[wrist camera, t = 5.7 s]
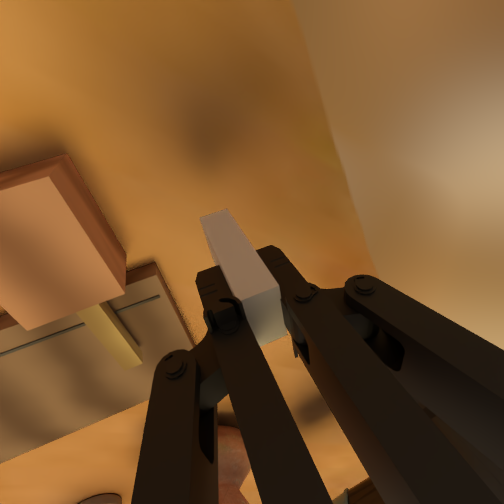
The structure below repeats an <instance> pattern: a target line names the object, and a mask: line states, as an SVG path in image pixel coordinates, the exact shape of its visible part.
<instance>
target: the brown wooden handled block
mask: <svg viewBox="0 0 504 504" xmlns="http://www.w3.org/2000/svg"><path fill="white" fill-rule="evenodd" d="M125 283H126V253H125V252H124V250H123V248H122V246H121V245H120V243H119V241H118V240H117V238H116V236H115V234H114V233H113V231H112V229H111V228H110V226H109V224H108V222H107V221H106V219H105V217H104V216H103V214H102V212H101V210H100V209H99V207H98V205H97V204H96V202H95V200H94V198H93V197H92V195H91V193H90V192H89V190H88V188H87V186H86V185H85V183H84V181H83V180H82V178H81V176H80V174H79V173H78V171H77V169H76V168H75V166H74V164H73V162H72V161H71V159H70V157H69V156H68V154H67V153H66V154H63V155H59V156H56V157H52V158H49V159H45V160H42V161H39V162H35V163H32V164H28V165H25V166H21V167H18V168H14V169H11V170H8V171H4V172H1V173H0V305H1V306H2V307H3V308H4V309H5V310H6V311H7V312H8V313H9V314H10V315H11V316H12V317H13V318H14V319H15V320H16V321H17V322H18V323H19V324H20V325H22V326H23V327H24V328H25V329H26V330H27V331H28V330H31V329H34V328H36V327H39V326H41V325H44V324H47V323H49V322H52V321H55V320H57V319H60V318H63V317H65V316H68V315H70V314H73V313H77V315H78V316H79V317H80V318H81V319H82V321H83V322H84V323H85V324H86V325H87V327H88V328H89V329H90V330H91V331H92V332H93V334H94V335H95V336H96V337H97V338H98V340H99V341H100V342H101V343H102V344H103V346H104V347H105V348H106V349H107V350H108V352H109V353H110V354H111V355H112V356H113V358H114V359H115V360H116V361H117V362H118V363H119V365H120V366H121V367H122V368H123V369H124V371H126V370H128V369H130V368H133V367H135V366H138V365H140V364H142V363H143V355H142V351H141V349H140V348H139V347H138V345H137V344H136V342H135V341H134V340H133V338H132V337H131V335H130V334H129V333H128V331H127V330H126V329H125V327H124V326H123V324H122V323H121V322H120V320H119V319H118V317H117V316H116V315H115V313H114V312H113V311H112V309H111V308H110V306H109V305H108V304H107V302H106V301H107V300H110V299H113V298H115V297H118V296H120V295H123V294H125Z"/></svg>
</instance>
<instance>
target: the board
mask: <svg viewBox="0 0 504 504" xmlns="http://www.w3.org/2000/svg"><path fill="white" fill-rule="evenodd" d="M106 302H107V304H108V305H109V306H110V308H111V309H112V311H113V312H114V313H115V315H116V316H117V317H118V319H119V320H120V322H121V323H122V324H123V326H124V327H125V329H126V330H127V331H128V333H129V334H130V335H131V337H132V338H133V340H134V341H135V342H136V344H137V345H138V347H139V348H140V349H141V351H142V355H143V363H142V364H140V365H138V366H135V367H133V368H130V369H128V370H126V371H124V369H123V368H122V367H121V366H120V365H119V363H118V362H117V361H116V360H115V359H114V358H113V356H112V355H111V354H110V353H109V352H108V350H107V349H106V348H105V347H104V346H103V344H102V343H101V342H100V341H99V340H98V338H97V337H96V336H95V335H94V334H93V332H92V331H91V330H90V329H89V328H88V327H87V325H86V324H85V323H84V322H83V321H82V319H81V318H80V317H79V316H78V315H77V313H73V314H70V315H68V316H65V317H63V318H60V319H57V320H55V321H52V322H49V323H47V324H44V325H41V326H39V327H36V328H34V329H31V330H28V331H27V330H26V329H25V328H24V327H23V326H22V325H20V324H19V323H18V322H17V321H16V320H15V319H14V318H13V317H12V316H11V315H10V314H9V313H8V314H5V315H2V316H0V464H1V463H3V462H5V461H8V460H10V459H12V458H15V457H17V456H19V455H22V454H24V453H26V452H29V451H31V450H33V449H36V448H38V447H40V446H42V445H45V444H47V443H49V442H52V441H54V440H56V439H59V438H61V437H63V436H66V435H68V434H70V433H73V432H75V431H77V430H80V429H82V428H84V427H87V426H89V425H91V424H93V423H96V422H98V421H100V420H103V419H105V418H107V417H110V416H112V415H114V414H117V413H119V412H121V411H124V410H126V409H128V408H131V407H133V406H135V405H138V404H140V403H142V402H144V401H147V400H149V399H150V394H151V388H152V382H153V377H154V372H155V369H156V366H157V364H158V363H159V361H160V360H161V359H162V358H163V357H164V356H165V355H167V354H168V353H169V352H172V351H175V350H177V349H185V350H188V351H190V350H191V349H192V348H194V347H195V346H196V345H195V343H194V341H193V339H192V337H191V335H190V333H189V331H188V329H187V327H186V325H185V323H184V321H183V319H182V317H181V315H180V312H179V310H178V308H177V306H176V304H175V302H174V300H173V298H172V296H171V294H170V292H169V290H168V288H167V286H166V284H165V282H164V280H163V278H162V276H161V273H160V271H159V269H158V267H157V265H156V263H155V262H154V263H152V264H149V265H146V266H143V267H140V268H137V269H134V270H131V271H129V272H126V283H125V294H123V295H120V296H118V297H115V298H113V299H110V300H107V301H106Z"/></svg>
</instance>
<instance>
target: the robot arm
mask: <svg viewBox="0 0 504 504" xmlns="http://www.w3.org/2000/svg"><path fill="white" fill-rule="evenodd" d="M200 221H201V224H202V227H203V230H204V233H205V236H206V239H207V242H208V245H209V248H210V251H211V254H212V257H213V260H214V262H215V265H216V266H214V267H212V268H209V269H206V270H203V271H201V272H198V273H197V277H196V281H195V282H196V285H197V288H198V292H199V295H200V298H201V301H202V305H203V308H204V311H203V318H204V320H205V323H206V325H207V327H208V331H207V333H206V335H205V337H204V338H203V340H202V341H201V342H200V343H199V344H198V345H196V346H195V347H194V348H192V349H191V350H190V351H188V350H185V349H177V350H175V351H172V352H169V353H168V354H167V355H165V356H164V357H163V358H162V359H161V360H160V361H159V363H158V364H157V366H156V369H155V372H154V377H153V382H152V388H151V394H150V399H149V405H148V411H147V416H146V422H145V427H144V433H143V439H142V444H141V450H140V456H139V461H138V467H137V473H136V478H135V484H134V490H133V495H132V501H131V504H219V488H218V418H217V403H218V402H220V401H221V400H222V399H223V398H224V397H225V396H226V395H227V394H228V393H229V397H230V400H231V403H232V407H233V410H234V413H235V416H236V420H237V423H238V426H239V429H240V433H241V436H242V439H243V442H244V446H245V449H246V452H247V456H248V459H249V462H250V465H251V469H252V472H253V475H254V478H255V482H256V485H257V488H258V491H259V495H260V498H261V501H262V504H504V350H502V349H500V348H499V347H497V346H495V345H493V344H492V343H490V342H488V341H487V340H484V339H483V338H481V337H479V336H478V335H476V334H474V333H472V332H470V331H469V330H467V329H465V328H464V327H462V326H460V325H458V324H457V323H455V322H453V321H451V320H449V319H448V318H446V317H444V316H442V315H441V314H439V313H437V312H435V311H434V310H432V309H430V308H428V307H426V306H425V305H423V304H421V303H420V302H418V301H416V300H414V299H413V298H411V297H409V296H407V295H405V294H404V293H402V292H400V291H398V290H396V289H395V288H393V287H391V286H390V285H388V284H386V283H384V282H383V281H381V280H379V279H377V278H375V277H372V276H370V275H355V276H353V277H350V278H349V279H348V280H347V281H346V282H345V286H344V287H342V288H334V289H320V288H319V287H318V286H316V285H314V284H311V283H308V282H307V281H306V280H305V279H304V278H303V276H302V275H301V274H300V273H299V272H298V270H297V269H296V268H295V267H294V265H293V264H292V263H291V262H290V261H289V259H288V258H287V257H286V256H285V254H284V253H283V252H282V251H281V250H280V249H279V248H277V247H275V246H273V245H269V246H267V247H264V248H261V249H258V250H256V251H255V249H254V248H253V246H252V245H251V243H250V242H249V240H248V239H247V237H246V236H245V234H244V233H243V232H242V230H241V229H240V227H239V226H238V224H237V223H236V221H235V220H234V218H233V217H232V215H231V214H230V212H229V211H228V209H224V210H221V211H218V212H215V213H212V214H209V215H206V216H203V217H200ZM286 328H287V329H288V331H289V333H290V334H291V337H292V343H293V350H294V355H295V358H296V357H298V354H299V356H300V358H301V360H302V361H303V363H304V365H305V367H306V368H307V370H308V372H309V373H310V375H311V377H312V379H313V380H314V382H315V384H316V385H317V387H318V389H319V391H320V392H321V394H322V396H323V398H324V399H325V401H326V403H327V404H328V406H329V408H330V410H331V411H332V413H333V415H334V416H335V418H336V420H337V422H338V423H339V425H340V427H341V429H342V430H343V432H344V434H345V435H346V437H347V439H348V441H349V442H350V444H351V446H352V448H353V449H354V451H355V453H356V454H357V456H358V458H359V460H360V461H361V463H362V465H363V466H364V468H365V470H366V472H367V473H368V475H369V477H368V478H367V479H365V480H364V481H362V482H360V483H359V484H357V485H356V486H354V487H352V488H351V489H348V488H346V489H345V490H344V493H342V494H341V495H339V496H338V497H337V498H335V499H334V500H331V498H330V496H329V494H328V492H327V489H326V487H325V485H324V483H323V481H322V479H321V477H320V474H319V472H318V470H317V468H316V466H315V464H314V462H313V459H312V457H311V455H310V453H309V451H308V449H307V447H306V444H305V442H304V440H303V438H302V436H301V434H300V432H299V430H298V427H297V425H296V423H295V421H294V419H293V417H292V415H291V412H290V410H289V408H288V406H287V404H286V402H285V400H284V397H283V395H282V393H281V391H280V389H279V387H278V385H277V382H276V380H275V378H274V376H273V374H272V372H271V370H270V367H269V365H268V363H267V361H266V359H265V357H264V355H263V352H262V350H261V348H260V347H261V346H263V345H265V344H268V343H270V342H272V341H274V340H277V339H279V338H281V337H284V336H286V335H287V330H286Z"/></svg>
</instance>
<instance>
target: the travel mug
mask: <svg viewBox="0 0 504 504" xmlns="http://www.w3.org/2000/svg"><path fill="white" fill-rule="evenodd" d="M79 504H122V500H121V498H120V497H119V496H118V495H115V494H102V495H98V496H94V497H91V498H89V499H86V500H84V501H82V502H81V503H79Z"/></svg>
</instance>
